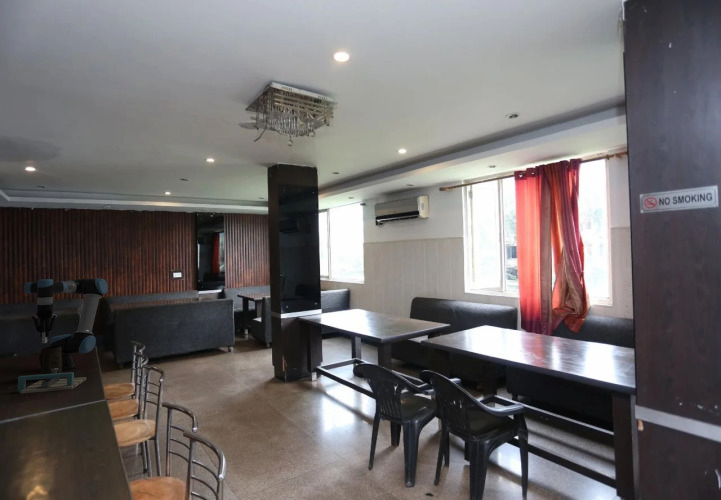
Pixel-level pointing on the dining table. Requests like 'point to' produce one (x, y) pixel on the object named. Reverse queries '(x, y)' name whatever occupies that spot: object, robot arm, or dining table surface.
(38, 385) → the pivot plate
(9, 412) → the dining table surface
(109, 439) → the dining table surface
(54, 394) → the dining table surface
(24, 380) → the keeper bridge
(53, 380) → the swing link
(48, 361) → the beer stein
